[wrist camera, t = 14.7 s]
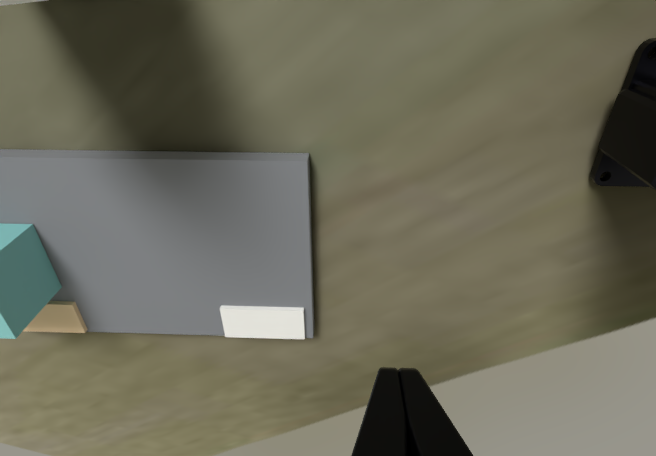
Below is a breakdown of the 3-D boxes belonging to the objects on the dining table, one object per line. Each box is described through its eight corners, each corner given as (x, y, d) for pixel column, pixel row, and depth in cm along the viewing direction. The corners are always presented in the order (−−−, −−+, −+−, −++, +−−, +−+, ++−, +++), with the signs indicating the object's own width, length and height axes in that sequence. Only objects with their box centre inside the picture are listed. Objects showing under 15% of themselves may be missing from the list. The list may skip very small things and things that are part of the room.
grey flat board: (308, 153, 20) (306, 163, 19) (314, 326, 27) (312, 341, 25) (-82, 148, 21) (-105, 158, 20) (16, 318, 27) (2, 332, 26)
